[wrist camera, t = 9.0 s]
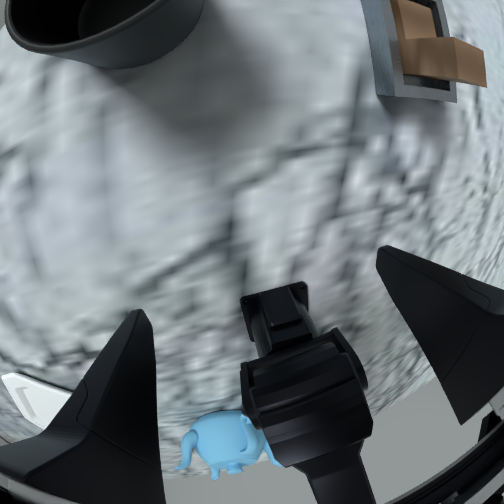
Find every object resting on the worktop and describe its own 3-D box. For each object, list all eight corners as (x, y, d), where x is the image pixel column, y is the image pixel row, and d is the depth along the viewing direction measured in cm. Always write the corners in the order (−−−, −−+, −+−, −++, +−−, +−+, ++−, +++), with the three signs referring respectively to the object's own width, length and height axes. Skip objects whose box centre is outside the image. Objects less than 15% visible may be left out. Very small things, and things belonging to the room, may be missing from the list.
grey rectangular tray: (438, 99, 18) (456, 103, 16) (376, 94, 17) (395, 96, 15) (422, -1, 12) (440, -4, 10) (354, -21, 11) (371, -29, 9)
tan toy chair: (426, 78, 16) (486, 87, 11) (394, 73, 16) (458, 78, 10) (415, 10, 13) (473, 5, 7) (382, 1, 12) (441, -14, 6)
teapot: (255, 394, 36) (270, 455, 28) (276, 423, 45) (289, 468, 36) (168, 414, 36) (172, 471, 28) (206, 439, 45) (213, 483, 36)
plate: (130, 444, 44) (130, 452, 42) (29, 415, 35) (27, 423, 33) (140, 401, 34) (140, 413, 32) (-2, 355, 24) (-6, 365, 23)
